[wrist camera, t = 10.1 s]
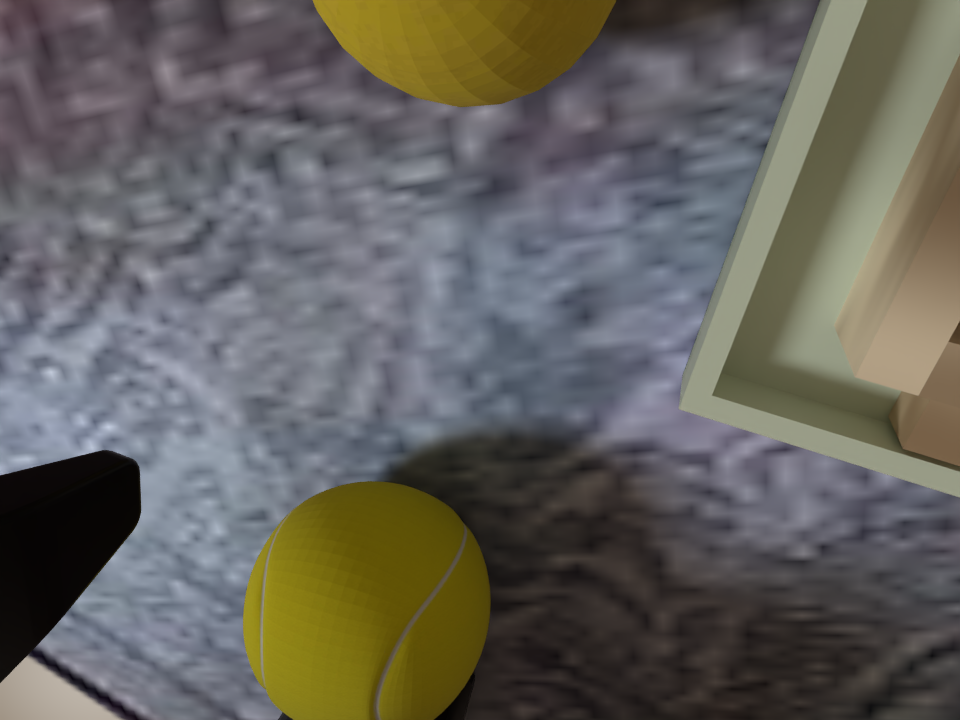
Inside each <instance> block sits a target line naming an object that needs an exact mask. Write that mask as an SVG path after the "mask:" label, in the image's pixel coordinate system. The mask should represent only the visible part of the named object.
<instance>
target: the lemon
mask: <svg viewBox="0 0 960 720" xmlns="http://www.w3.org/2000/svg"><path fill="white" fill-rule="evenodd" d="M313 2H314V5H315V7H316V9H317V11H318V13H319V14H320V16H321V17H322V19H323V20H324V22H325V23H326V24H327V26H328V27H329V29H330V30H331V32H332V33H333V34H334V36H335V37H336V39H337V40H338V42H339V43H340V44H341V46H342V47H343V48H344V49H345V50H346V51H347V52H348V53H349V54H351V55H352V56H353V57H354V58H355V59H356V60H357V61H359V62H360V63H361V64H362V65H363V66H364V67H365V68H366V69H368V70H369V71H370V72H371V73H372V74H373V75H375V76H376V77H378V78H379V79H381V80H383V81H385V82H387V83H389V84H391V85H393V86H395V87H396V88H398V89H400V90H402V91H404V92H406V93H408V94H410V95H412V96H414V97H417V98H420V99H424V100H428V101H433V102H438V103H443V104H447V105H452V106H458V107H469V106H481V105H494V104H502V103H505V102H508V101H510V100H513V99H516V98H519V97H521V96H524V95H527V94H529V93H532V92H535V91H537V90H540V89H541V88H542V87H544V86H545V85H547V84H548V83H550V82H551V81H552V80H554V79H555V78H557V77H558V76H560V75H561V74H563V73H564V72H565V71H567V70H568V69H570V68H571V67H572V66H573V65H574V63H575V62H576V61H577V60H578V59H579V58H580V57H581V55H582V54H583V53H584V52H585V51H586V50H587V48H588V47H589V46H590V45H591V44H592V43H593V42H594V40H595V39H596V38H597V37H598V35H599V33H600V31H601V29H602V27H603V25H604V23H605V21H606V20H607V18H608V16H609V14H610V12H611V10H612V8H613V6H614V4H615V2H616V0H313Z"/></svg>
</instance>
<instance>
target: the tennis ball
mask: <svg viewBox="0 0 960 720" xmlns="http://www.w3.org/2000/svg"><path fill="white" fill-rule="evenodd" d="M490 605H491V599H490V584H489V578H488V573H487V568H486V564H485V561H484V558H483V555H482V552H481V550H480V547H479V545H478V543H477V541H476V539H475V537H474V535H473V534H472V532H471V531H470V530H469V528H468V527H467V526H466V525H465V524H464V523H463V522H462V521H461V519H460V518H459V516H458V515H457V514H456V512H455V511H454V510H453V509H452V508H450V507H449V506H448V505H446V504H445V503H443V502H442V501H440V500H438V499H437V498H435V497H433V496H431V495H429V494H427V493H425V492H422V491H420V490H417V489H415V488H412V487H409V486H405V485H402V484H396V483H390V482H372V481H368V482H357V483H350V484H345V485H341V486H338V487H335V488H331V489H328V490H326V491H324V492H321V493H319V494H317V495H315V496H313V497H311V498H309V499H308V500H306V501H304V502H303V503H302V504H300V505H299V506H297V507H296V508H295V509H293V510H292V511H291V512H290V513H289V514H288V515H287V516H286V517H285V518H284V519H283V520H282V521H281V523H280V524H279V525H278V526H277V528H276V529H275V530H274V532H273V533H272V535H271V536H270V538H269V539H268V541H267V542H266V544H265V545H264V547H263V549H262V551H261V553H260V555H259V557H258V559H257V561H256V563H255V565H254V568H253V570H252V573H251V576H250V579H249V583H248V587H247V591H246V596H245V603H244V614H243V634H244V642H245V648H246V652H247V655H248V659H249V662H250V665H251V668H252V670H253V672H254V674H255V677H256V678H257V680H258V682H259V683H260V685H261V686H262V687H263V688H265V689H266V690H267V693H268V696H269V698H270V699H271V701H272V702H273V703H274V704H275V705H276V706H277V707H278V708H279V709H280V710H281V711H282V712H283V713H285V714H286V715H287V716H289V717H290V718H292V719H293V720H434V719H435V718H436V717H438V716H439V715H440V714H441V713H442V712H443V711H444V710H445V709H446V708H447V707H448V706H449V705H450V704H451V703H452V702H453V701H454V700H455V698H456V697H457V696H458V695H459V693H460V692H461V690H462V689H463V688H464V686H465V685H466V683H467V682H468V680H469V678H470V676H471V675H472V673H473V671H474V669H475V667H476V665H477V663H478V660H479V658H480V656H481V653H482V650H483V647H484V644H485V640H486V636H487V632H488V626H489V620H490Z"/></svg>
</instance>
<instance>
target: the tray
mask: <svg viewBox="0 0 960 720" xmlns="http://www.w3.org/2000/svg"><path fill="white" fill-rule="evenodd" d="M959 55H960V0H820V2H819V5H818V8H817V10H816V13H815V16H814V19H813V21H812V24H811V27H810V29H809V32H808V35H807V38H806V40H805V43H804V46H803V49H802V51H801V54H800V57H799V59H798V62H797V65H796V68H795V70H794V73H793V76H792V79H791V81H790V84H789V87H788V89H787V92H786V95H785V98H784V100H783V103H782V106H781V109H780V111H779V114H778V117H777V119H776V122H775V125H774V128H773V130H772V133H771V136H770V139H769V141H768V144H767V147H766V149H765V152H764V155H763V158H762V160H761V163H760V166H759V169H758V171H757V174H756V177H755V179H754V182H753V185H752V188H751V190H750V193H749V196H748V199H747V201H746V204H745V207H744V209H743V212H742V215H741V218H740V220H739V223H738V226H737V229H736V231H735V234H734V237H733V240H732V242H731V245H730V248H729V250H728V253H727V256H726V259H725V261H724V264H723V267H722V270H721V272H720V275H719V278H718V280H717V283H716V286H715V289H714V291H713V294H712V297H711V300H710V302H709V305H708V308H707V310H706V313H705V316H704V319H703V321H702V324H701V327H700V330H699V332H698V335H697V338H696V340H695V343H694V346H693V349H692V351H691V354H690V357H689V360H688V362H687V365H686V368H685V370H684V373H683V377H682V385H681V394H680V403H679V409H680V410H683V411H686V412H690V413H693V414H696V415H699V416H702V417H706V418H709V419H712V420H715V421H718V422H721V423H725V424H728V425H731V426H734V427H737V428H741V429H744V430H747V431H750V432H753V433H756V434H760V435H763V436H766V437H769V438H772V439H776V440H779V441H782V442H785V443H788V444H791V445H795V446H798V447H801V448H804V449H807V450H811V451H814V452H817V453H820V454H823V455H827V456H830V457H833V458H836V459H839V460H842V461H846V462H849V463H852V464H855V465H858V466H862V467H865V468H868V469H871V470H874V471H877V472H881V473H884V474H887V475H890V476H893V477H897V478H900V479H903V480H906V481H909V482H912V483H916V484H919V485H922V486H925V487H928V488H932V489H935V490H938V491H941V492H944V493H947V494H951V495H954V496H957V497H960V466H957V465H954V464H951V463H948V462H944V461H941V460H938V459H935V458H931V457H928V456H925V455H922V454H918V453H915V452H912V451H909V450H905V449H903V448H902V446H901V444H900V441H899V439H898V437H897V435H896V432H895V430H894V428H893V426H892V424H891V421H890V419H889V417H888V415H889V413H890V411H891V409H892V408H893V406H894V404H895V402H896V400H897V398H898V396H899V395H900V393H901V391H900V390H897V389H893V388H890V387H886V386H883V385H880V384H876V383H873V382H869V381H866V380H863V379H859V378H856V377H855V376H854V374H853V371H852V369H851V366H850V364H849V361H848V359H847V356H846V354H845V352H844V349H843V347H842V344H841V342H840V339H839V337H838V334H837V332H836V329H835V327H834V324H835V322H836V320H837V318H838V315H839V313H840V311H841V309H842V307H843V305H844V303H845V300H846V298H847V296H848V294H849V292H850V290H851V287H852V285H853V283H854V281H855V279H856V277H857V275H858V272H859V270H860V268H861V266H862V264H863V262H864V259H865V257H866V255H867V253H868V251H869V249H870V247H871V244H872V242H873V240H874V238H875V236H876V234H877V231H878V229H879V227H880V225H881V223H882V221H883V219H884V216H885V214H886V212H887V210H888V208H889V206H890V203H891V201H892V199H893V197H894V195H895V193H896V191H897V188H898V186H899V184H900V182H901V180H902V178H903V175H904V173H905V171H906V169H907V167H908V165H909V163H910V160H911V158H912V156H913V154H914V152H915V150H916V147H917V145H918V143H919V141H920V139H921V137H922V135H923V132H924V130H925V128H926V126H927V124H928V122H929V119H930V117H931V115H932V113H933V111H934V109H935V107H936V104H937V102H938V100H939V98H940V96H941V94H942V91H943V89H944V87H945V85H946V83H947V81H948V79H949V76H950V74H951V72H952V70H953V68H954V66H955V63H956V61H957V59H958V57H959Z"/></svg>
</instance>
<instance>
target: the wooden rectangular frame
mask: <svg viewBox="0 0 960 720" xmlns="http://www.w3.org/2000/svg"><path fill="white" fill-rule="evenodd" d="M834 327H835V329H836V332H837V334H838V337H839V339H840V342H841V344H842V347H843V349H844V352H845V354H846V356H847V359H848V361H849V364H850V366H851V369H852V371H853V374H854V376H855V377H856V378H859V379H863V380H866V381H869V382H873V383H876V384H880V385H883V386H886V387H890V388H893V389H897V390H900V391H901V393H900V395H899V396H898V398H897V400H896V402H895V404H894V406H893V408H892V409H891V411H890V413H889V415H888V417H889V419H890V421H891V424H892V426H893V428H894V430H895V432H896V435H897V437H898V439H899V441H900V444H901V446H902V448H903V449H905V450H909V451H912V452H915V453H918V454H922V455H925V456H928V457H931V458H935V459H938V460H941V461H944V462H948V463H951V464H954V465H957V466H960V55H959V57H958V59H957V61H956V63H955V66H954V68H953V70H952V72H951V74H950V76H949V79H948V81H947V83H946V85H945V87H944V89H943V91H942V94H941V96H940V98H939V100H938V102H937V104H936V107H935V109H934V111H933V113H932V115H931V117H930V119H929V122H928V124H927V126H926V128H925V130H924V132H923V135H922V137H921V139H920V141H919V143H918V145H917V147H916V150H915V152H914V154H913V156H912V158H911V160H910V163H909V165H908V167H907V169H906V171H905V173H904V175H903V178H902V180H901V182H900V184H899V186H898V188H897V191H896V193H895V195H894V197H893V199H892V201H891V203H890V206H889V208H888V210H887V212H886V214H885V216H884V219H883V221H882V223H881V225H880V227H879V229H878V231H877V234H876V236H875V238H874V240H873V242H872V244H871V247H870V249H869V251H868V253H867V255H866V257H865V259H864V262H863V264H862V266H861V268H860V270H859V272H858V275H857V277H856V279H855V281H854V283H853V285H852V287H851V290H850V292H849V294H848V296H847V298H846V300H845V303H844V305H843V307H842V309H841V311H840V313H839V315H838V318H837V320H836V322H835V324H834Z"/></svg>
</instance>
